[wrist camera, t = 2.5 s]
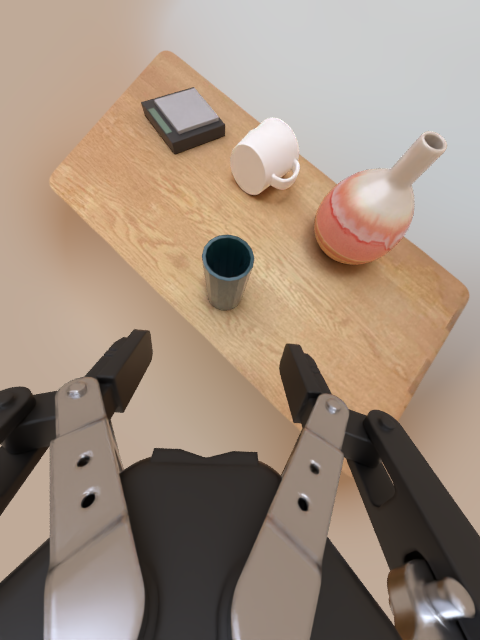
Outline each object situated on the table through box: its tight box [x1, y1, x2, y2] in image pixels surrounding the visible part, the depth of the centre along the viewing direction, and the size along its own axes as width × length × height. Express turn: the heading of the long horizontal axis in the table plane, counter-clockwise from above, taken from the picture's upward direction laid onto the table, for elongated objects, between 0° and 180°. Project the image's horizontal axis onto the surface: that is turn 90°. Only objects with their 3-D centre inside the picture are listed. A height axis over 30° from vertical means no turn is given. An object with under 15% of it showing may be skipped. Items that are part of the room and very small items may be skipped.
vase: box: [314, 131, 447, 265], centre depth 29 cm, size 14×14×18 cm
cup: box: [202, 235, 254, 310], centre depth 27 cm, size 6×6×11 cm
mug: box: [230, 118, 300, 195], centre depth 36 cm, size 12×9×8 cm
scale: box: [141, 87, 225, 154], centre depth 40 cm, size 12×12×3 cm
